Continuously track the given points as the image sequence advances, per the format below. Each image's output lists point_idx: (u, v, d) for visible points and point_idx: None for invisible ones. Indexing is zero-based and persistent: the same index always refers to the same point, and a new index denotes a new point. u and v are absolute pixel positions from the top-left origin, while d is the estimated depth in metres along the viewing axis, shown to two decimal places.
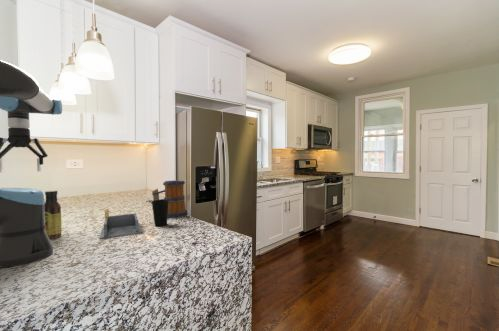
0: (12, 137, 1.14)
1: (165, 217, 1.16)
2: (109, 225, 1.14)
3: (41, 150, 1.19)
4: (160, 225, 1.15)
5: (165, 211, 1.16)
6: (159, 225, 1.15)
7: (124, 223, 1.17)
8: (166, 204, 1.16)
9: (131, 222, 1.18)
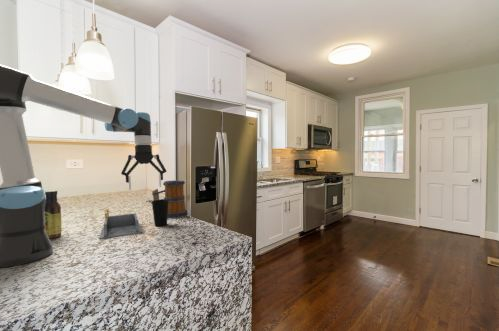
0: (139, 154, 1.15)
1: (165, 217, 1.16)
2: (109, 225, 1.14)
3: (162, 166, 1.20)
4: (160, 225, 1.15)
5: (165, 211, 1.16)
6: (159, 225, 1.15)
7: (124, 223, 1.17)
8: (166, 204, 1.16)
9: (131, 222, 1.18)
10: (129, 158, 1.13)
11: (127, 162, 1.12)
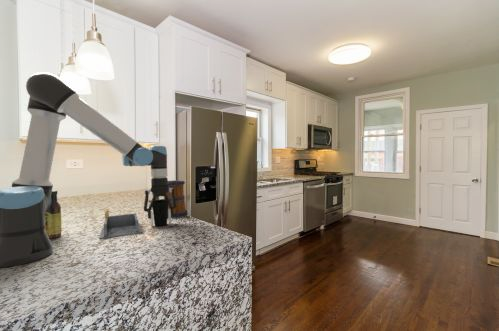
0: (155, 187, 1.15)
1: (165, 217, 1.16)
2: (109, 225, 1.14)
3: (174, 201, 1.19)
4: (160, 225, 1.15)
5: (165, 211, 1.16)
6: (159, 225, 1.14)
7: (124, 223, 1.17)
8: (166, 204, 1.16)
9: (131, 222, 1.18)
10: (146, 194, 1.13)
11: (146, 198, 1.13)
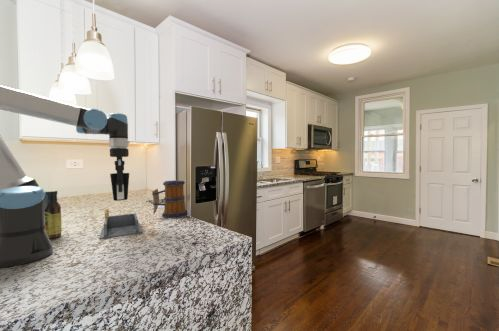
0: None
1: (114, 191, 1.06)
2: (109, 225, 1.14)
3: None
4: None
5: (113, 184, 1.06)
6: None
7: (124, 223, 1.17)
8: (113, 177, 1.05)
9: (131, 222, 1.18)
10: None
11: None
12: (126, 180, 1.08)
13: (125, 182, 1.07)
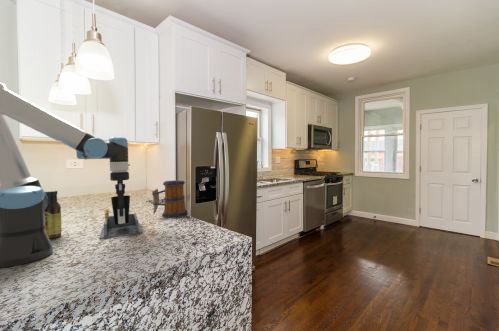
0: None
1: (115, 215, 1.06)
2: (109, 225, 1.14)
3: None
4: None
5: (114, 209, 1.06)
6: None
7: None
8: (114, 201, 1.05)
9: (131, 222, 1.18)
10: None
11: None
12: (127, 203, 1.08)
13: (126, 206, 1.08)
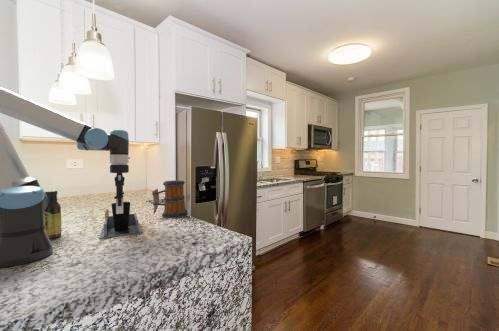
0: None
1: (115, 222, 1.06)
2: (109, 225, 1.14)
3: (116, 189, 1.01)
4: None
5: (114, 215, 1.06)
6: None
7: None
8: (114, 208, 1.06)
9: (131, 222, 1.18)
10: None
11: None
12: (127, 210, 1.08)
13: (126, 212, 1.08)
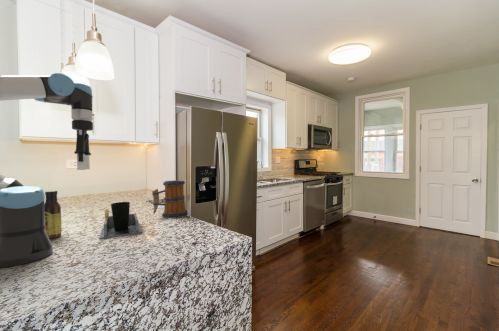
0: None
1: (114, 222, 1.06)
2: (109, 225, 1.14)
3: None
4: None
5: (113, 215, 1.06)
6: None
7: None
8: (113, 208, 1.06)
9: (131, 222, 1.18)
10: None
11: None
12: (127, 210, 1.08)
13: (126, 212, 1.08)
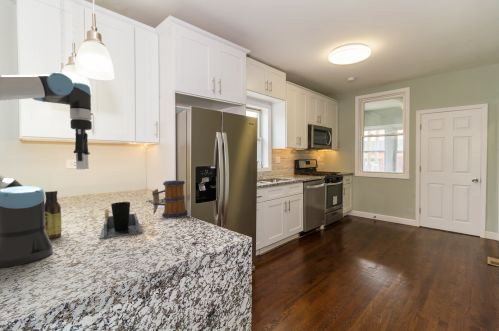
0: None
1: (115, 222, 1.06)
2: (109, 225, 1.14)
3: None
4: None
5: (114, 215, 1.06)
6: None
7: None
8: (114, 208, 1.05)
9: (131, 222, 1.18)
10: None
11: None
12: (127, 210, 1.08)
13: (126, 212, 1.08)
